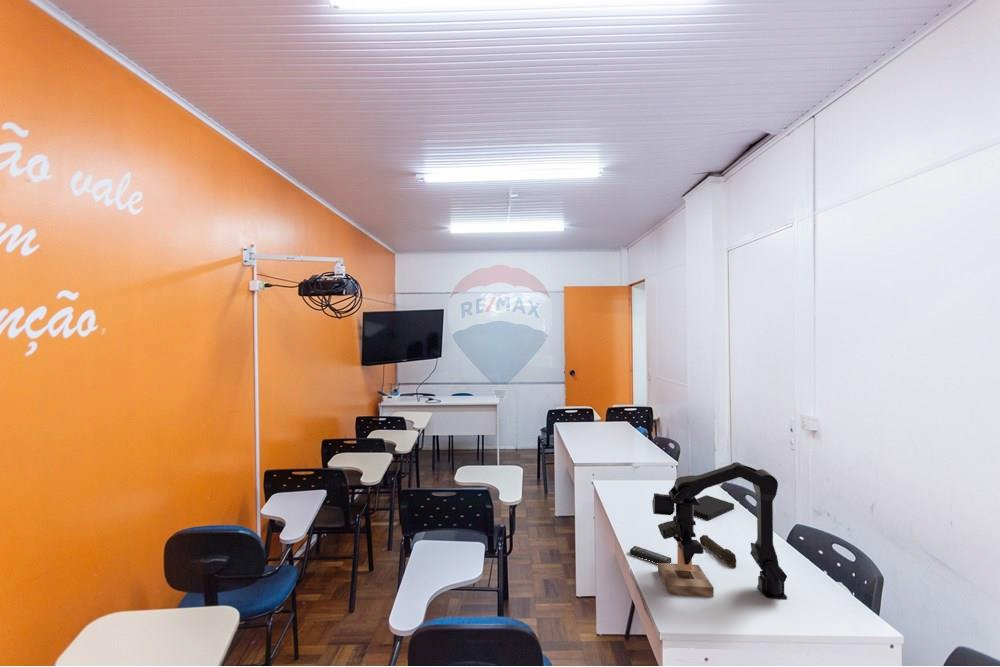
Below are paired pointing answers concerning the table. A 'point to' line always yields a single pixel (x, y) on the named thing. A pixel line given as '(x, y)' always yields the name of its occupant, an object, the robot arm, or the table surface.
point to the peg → (682, 559)
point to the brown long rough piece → (719, 550)
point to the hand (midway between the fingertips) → (684, 561)
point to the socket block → (685, 580)
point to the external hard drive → (711, 507)
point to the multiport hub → (649, 555)
